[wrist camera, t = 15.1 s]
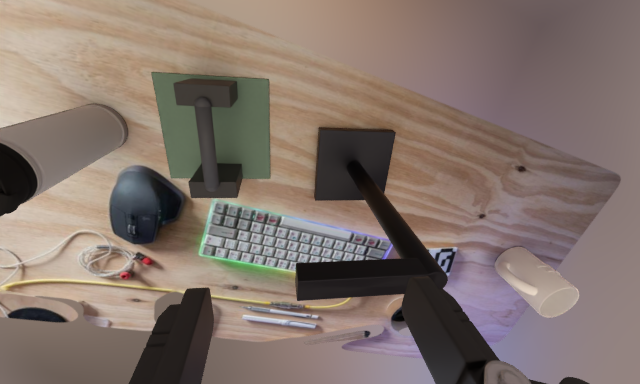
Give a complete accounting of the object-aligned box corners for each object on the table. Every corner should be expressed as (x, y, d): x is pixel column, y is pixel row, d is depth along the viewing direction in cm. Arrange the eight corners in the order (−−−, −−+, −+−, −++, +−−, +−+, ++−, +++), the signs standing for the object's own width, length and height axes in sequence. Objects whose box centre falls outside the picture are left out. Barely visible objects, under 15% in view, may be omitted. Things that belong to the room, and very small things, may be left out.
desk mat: (152, 72, 36) (151, 72, 36) (268, 79, 38) (268, 79, 38) (171, 177, 43) (170, 178, 42) (270, 177, 45) (270, 178, 45)
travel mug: (125, 156, 40) (8, 236, 23) (73, 137, 38) (-102, 209, 20) (136, 117, 38) (15, 172, 21) (81, 94, 36) (-107, 134, 18)
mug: (493, 239, 59) (542, 280, 48) (535, 248, 62) (589, 289, 51) (473, 268, 62) (514, 313, 51) (514, 276, 65) (560, 319, 54)
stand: (286, 126, 42) (300, 223, 18) (392, 129, 44) (528, 218, 20) (285, 196, 47) (295, 344, 23) (380, 196, 50) (477, 327, 26)
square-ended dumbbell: (190, 78, 37) (168, 84, 29) (236, 80, 38) (227, 87, 30) (203, 177, 43) (188, 203, 36) (242, 177, 44) (236, 202, 36)
